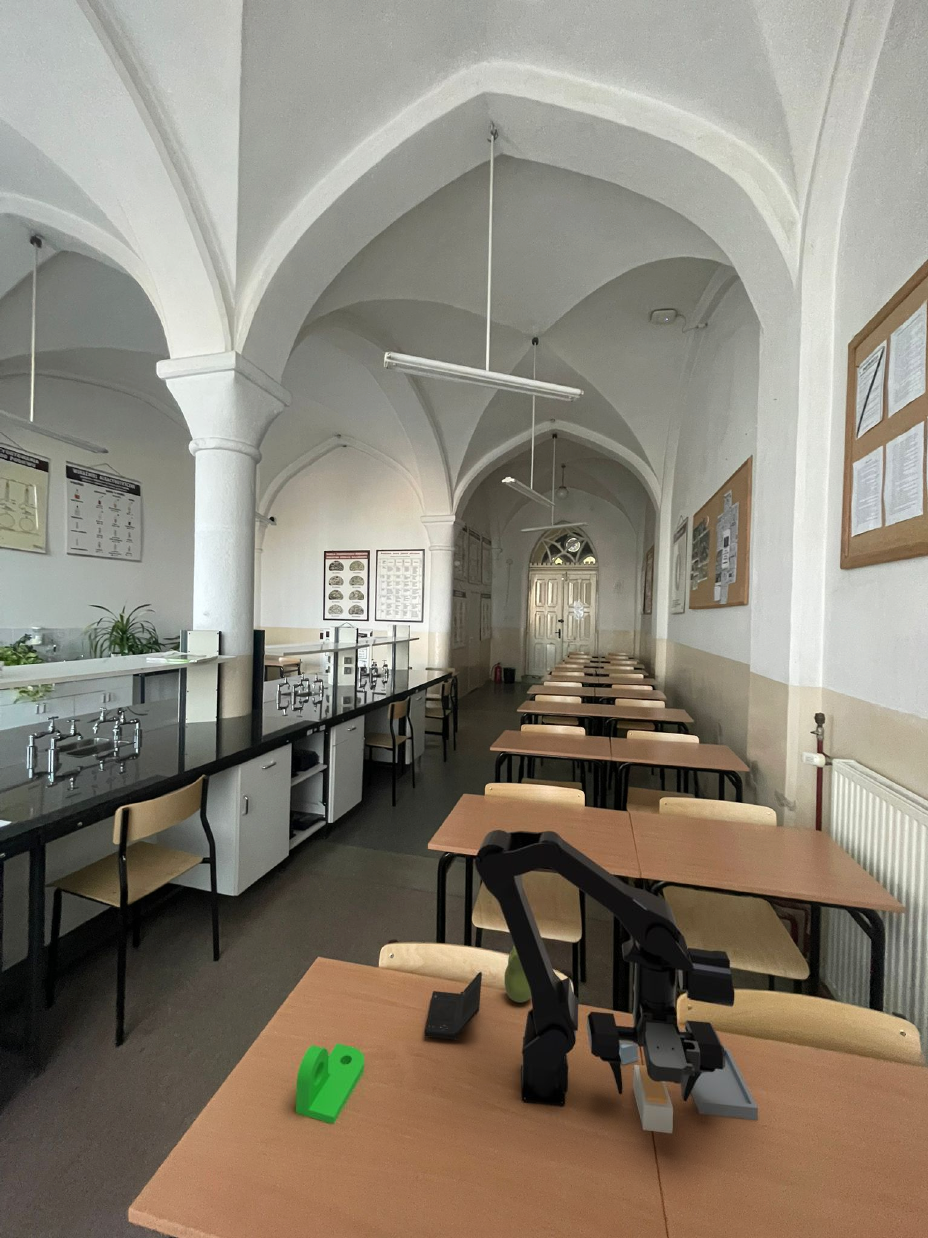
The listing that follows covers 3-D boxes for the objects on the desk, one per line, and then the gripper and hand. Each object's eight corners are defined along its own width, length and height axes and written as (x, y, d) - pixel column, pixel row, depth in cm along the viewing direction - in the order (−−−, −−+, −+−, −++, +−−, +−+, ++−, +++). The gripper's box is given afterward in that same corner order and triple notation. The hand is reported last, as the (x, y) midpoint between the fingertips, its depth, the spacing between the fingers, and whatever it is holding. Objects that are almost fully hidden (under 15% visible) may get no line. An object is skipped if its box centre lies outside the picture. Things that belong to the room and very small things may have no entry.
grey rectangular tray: (699, 1114, 80) (699, 1102, 80) (677, 1053, 91) (677, 1043, 91) (757, 1120, 80) (757, 1108, 80) (727, 1058, 91) (728, 1048, 91)
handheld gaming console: (421, 987, 103) (456, 948, 103) (450, 1008, 104) (485, 970, 104) (421, 1040, 92) (459, 997, 91) (453, 1064, 93) (491, 1021, 92)
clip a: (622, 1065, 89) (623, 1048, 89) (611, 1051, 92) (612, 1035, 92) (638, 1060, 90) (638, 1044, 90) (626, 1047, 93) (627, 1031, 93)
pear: (529, 988, 107) (530, 937, 107) (536, 1008, 101) (538, 954, 101) (501, 990, 106) (503, 939, 106) (507, 1010, 101) (508, 956, 101)
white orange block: (643, 1133, 77) (643, 1100, 77) (633, 1090, 84) (634, 1061, 84) (672, 1137, 77) (673, 1104, 77) (660, 1093, 84) (660, 1064, 84)
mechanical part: (333, 1131, 77) (334, 1075, 76) (295, 1120, 78) (297, 1064, 78) (370, 1064, 88) (371, 1015, 88) (336, 1055, 90) (337, 1007, 90)
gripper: (598, 1025, 73) (595, 1140, 73) (742, 1038, 72) (739, 1157, 72) (587, 971, 84) (585, 1072, 85) (712, 982, 83) (709, 1084, 83)
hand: (651, 1095), depth 81 cm, fingers open, 9 cm apart
